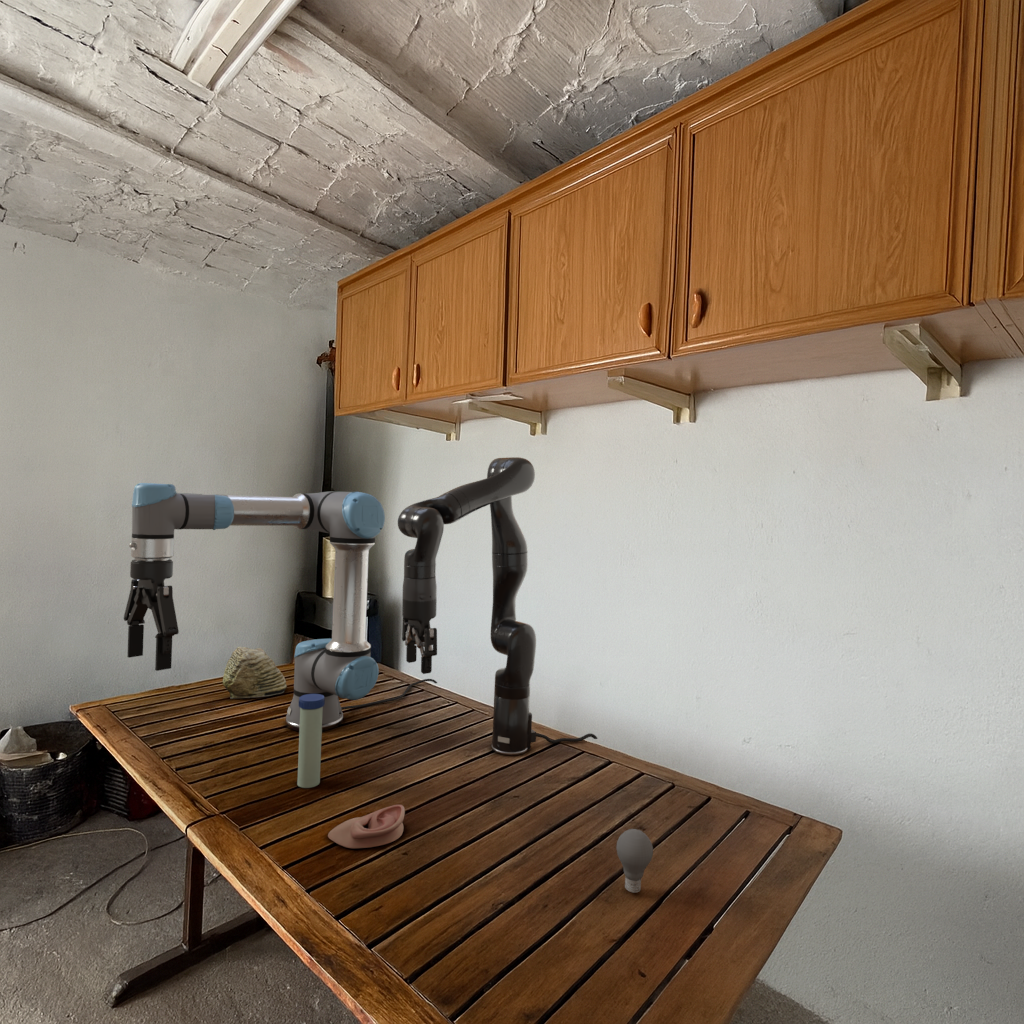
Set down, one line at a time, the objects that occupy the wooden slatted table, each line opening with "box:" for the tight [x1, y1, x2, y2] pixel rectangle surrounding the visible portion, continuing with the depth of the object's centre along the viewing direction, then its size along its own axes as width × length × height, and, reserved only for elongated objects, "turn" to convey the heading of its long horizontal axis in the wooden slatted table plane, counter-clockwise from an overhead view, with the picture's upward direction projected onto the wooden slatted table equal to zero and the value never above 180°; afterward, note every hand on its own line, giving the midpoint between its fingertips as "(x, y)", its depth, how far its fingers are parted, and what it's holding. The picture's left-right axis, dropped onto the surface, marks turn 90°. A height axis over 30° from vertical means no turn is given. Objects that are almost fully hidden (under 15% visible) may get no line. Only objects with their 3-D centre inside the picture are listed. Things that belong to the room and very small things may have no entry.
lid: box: [299, 694, 325, 709], centre depth 139 cm, size 5×6×2 cm
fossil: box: [222, 646, 288, 699], centre depth 198 cm, size 9×18×15 cm, turn 132°
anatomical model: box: [327, 804, 406, 849], centre depth 120 cm, size 13×4×12 cm
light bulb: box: [615, 828, 654, 894], centre depth 106 cm, size 6×6×10 cm
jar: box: [296, 707, 323, 789], centre depth 140 cm, size 5×5×19 cm
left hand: (148, 662), depth 129 cm, fingers open, 13 cm apart
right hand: (418, 667), depth 142 cm, fingers open, 8 cm apart
